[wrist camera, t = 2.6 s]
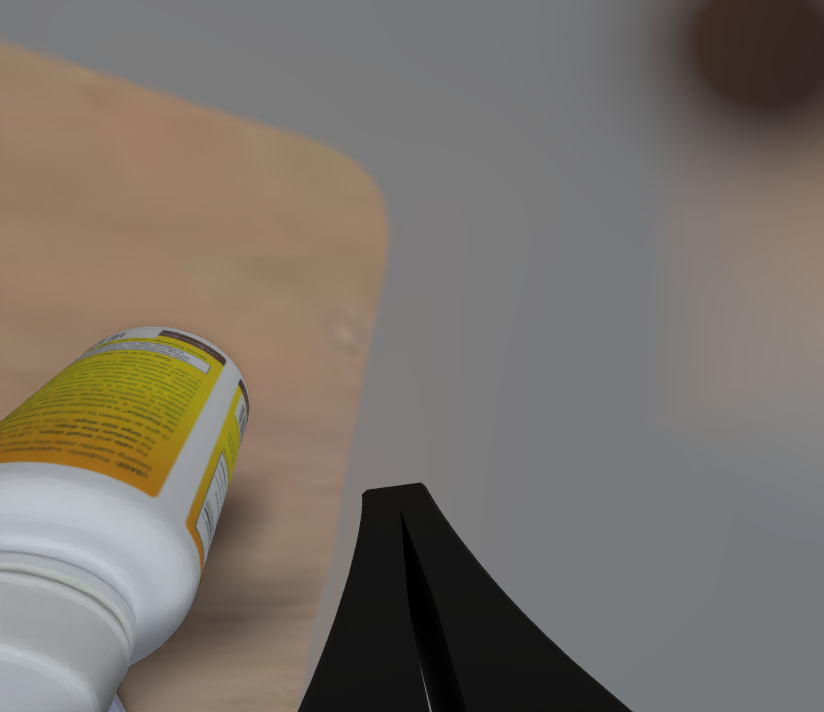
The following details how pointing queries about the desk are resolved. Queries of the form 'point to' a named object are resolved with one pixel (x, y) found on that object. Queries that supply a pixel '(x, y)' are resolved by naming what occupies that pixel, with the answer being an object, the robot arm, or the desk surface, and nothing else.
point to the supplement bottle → (110, 511)
